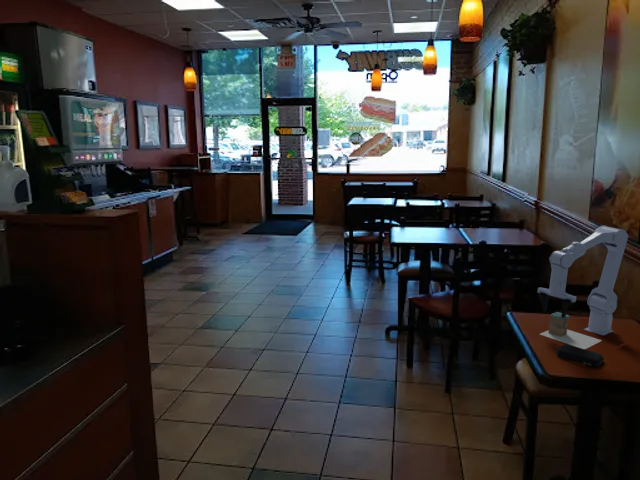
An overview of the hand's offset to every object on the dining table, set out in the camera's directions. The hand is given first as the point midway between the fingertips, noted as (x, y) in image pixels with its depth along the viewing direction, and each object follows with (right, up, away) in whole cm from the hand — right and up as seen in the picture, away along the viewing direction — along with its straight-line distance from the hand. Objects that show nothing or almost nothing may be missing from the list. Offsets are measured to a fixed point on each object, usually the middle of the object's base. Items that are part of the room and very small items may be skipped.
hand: (553, 314), depth 202 cm
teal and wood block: (+4, -8, +5) cm, 10 cm away
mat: (+7, -10, +1) cm, 12 cm away
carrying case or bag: (+1, -14, -17) cm, 22 cm away
